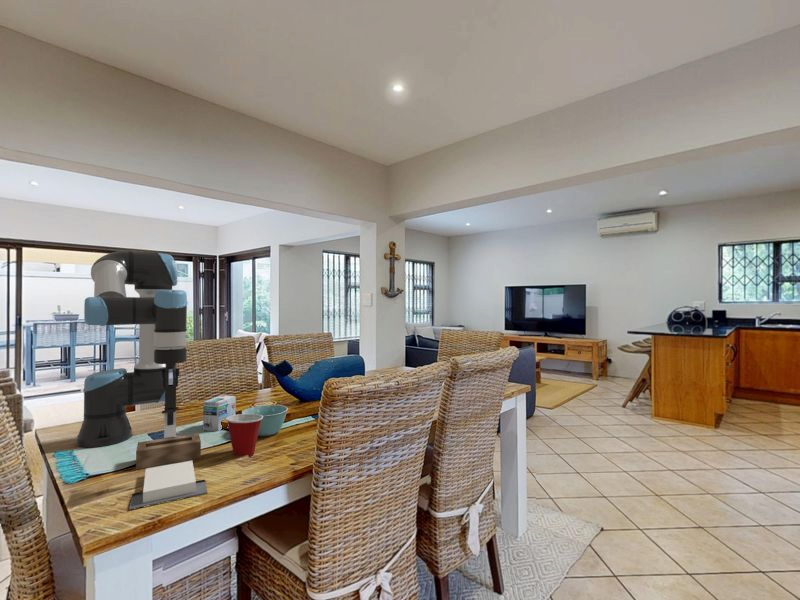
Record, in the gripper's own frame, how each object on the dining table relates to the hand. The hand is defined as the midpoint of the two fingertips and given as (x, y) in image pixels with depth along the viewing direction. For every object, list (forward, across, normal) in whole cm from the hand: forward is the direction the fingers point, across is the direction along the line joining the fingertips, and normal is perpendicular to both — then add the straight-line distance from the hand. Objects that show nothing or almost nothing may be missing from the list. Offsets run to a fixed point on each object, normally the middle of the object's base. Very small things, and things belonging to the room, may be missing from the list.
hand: (170, 436), depth 106 cm
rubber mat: (+12, -3, 0) cm, 12 cm away
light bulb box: (+12, +41, -17) cm, 46 cm away
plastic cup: (+12, +8, -20) cm, 25 cm away
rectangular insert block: (+10, +3, 0) cm, 10 cm away
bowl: (+12, +26, -30) cm, 42 cm away
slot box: (+12, +13, 0) cm, 18 cm away
